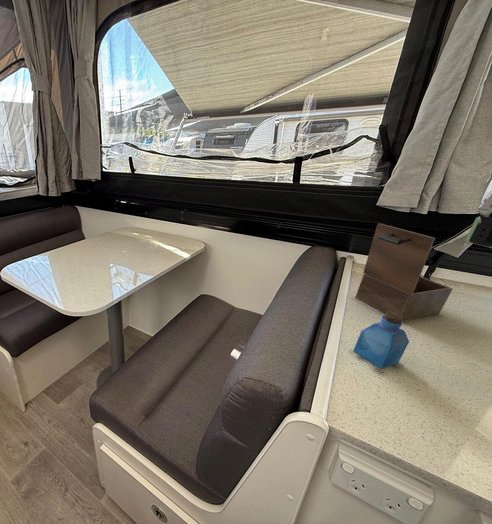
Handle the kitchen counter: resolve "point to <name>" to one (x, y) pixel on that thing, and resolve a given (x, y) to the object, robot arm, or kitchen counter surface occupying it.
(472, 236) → the robot arm
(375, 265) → the lid
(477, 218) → the block
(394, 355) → the perfume bottle
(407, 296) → the chest
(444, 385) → the kitchen counter surface
